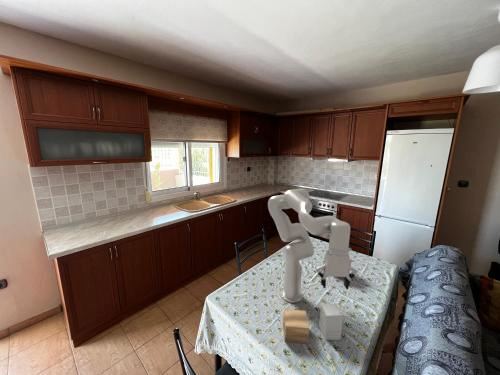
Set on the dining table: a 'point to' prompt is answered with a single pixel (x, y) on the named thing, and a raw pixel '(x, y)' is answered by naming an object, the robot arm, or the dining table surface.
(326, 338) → the supplement box
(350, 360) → the dining table surface
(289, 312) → the tower top
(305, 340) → the tower base
